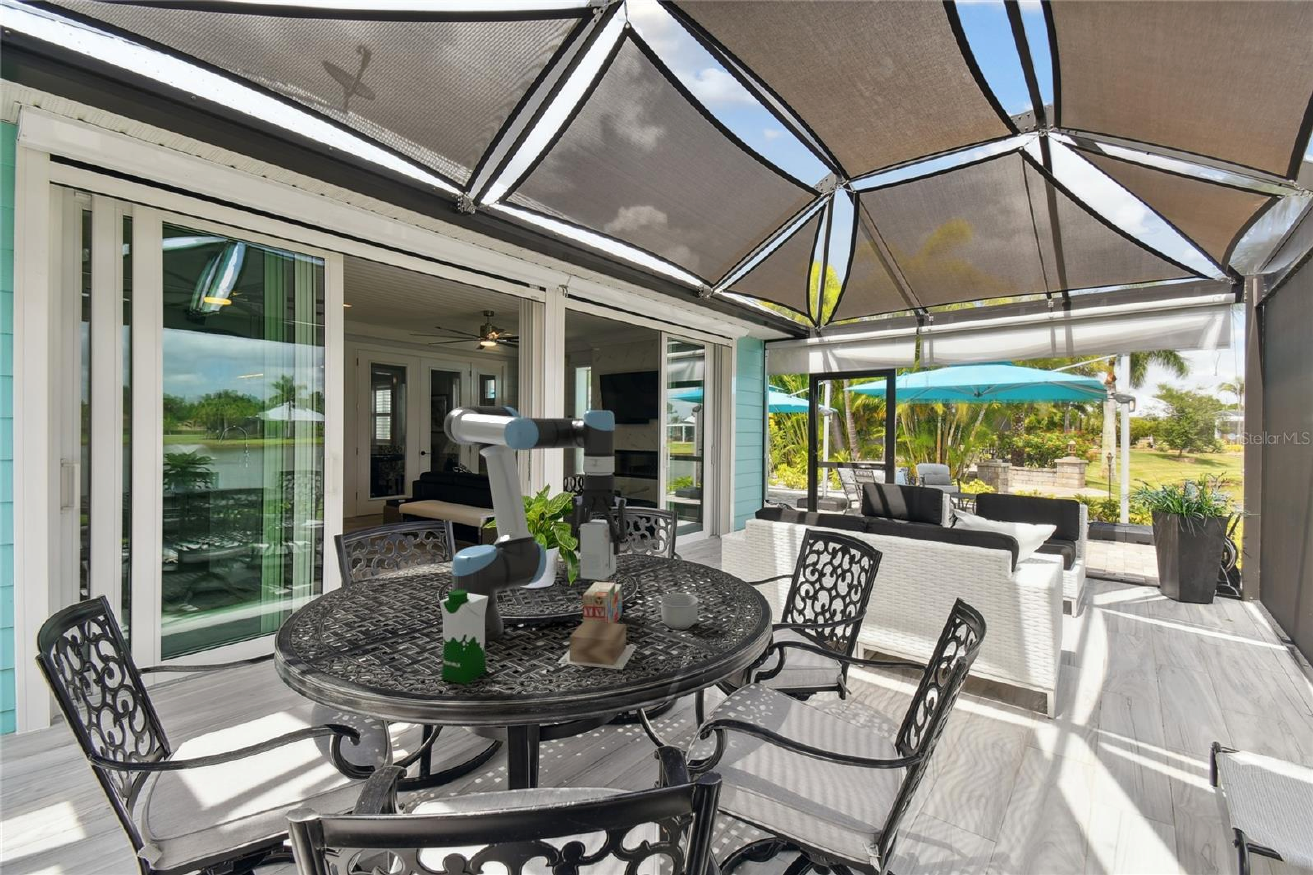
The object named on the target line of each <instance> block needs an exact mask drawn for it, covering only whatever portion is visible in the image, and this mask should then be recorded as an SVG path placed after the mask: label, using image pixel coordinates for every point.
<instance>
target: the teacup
mask: <svg viewBox="0 0 1313 875" xmlns="http://www.w3.org/2000/svg"><path fill="white" fill-rule="evenodd" d="M658 600H659V601H660V606H659V604H658ZM652 604H653V607H654V609H655V610H656V611H657V612H658V613H659V614H660V615H661V620H662V622H663V623H664V625H666V626H667V627H668V628H670V629H672V630H674V631H675V630H677V631H682V630H683V631H684V630H688V629H689V628H691V627H692V626H693V625H694V624H696V622H697V619H698V614H699V613H698V610H699V609H698V607H699V599H698V597H696V595H693V594H690V593H682V592H680V593H679V592H677V593H676V592H675V593H669V594H666V595H664V596H661V595H656V596H655V597H654V598H653V599H652Z"/></svg>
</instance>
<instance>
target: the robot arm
mask: <svg viewBox="0 0 1313 875" xmlns="http://www.w3.org/2000/svg"><path fill="white" fill-rule="evenodd" d="M615 422H616V421H615V414H614V412H613V411H611V410H601V409H600V410H596V409H595V410H585V411H584V413H583V418H576V417H575V418H573V417H564V418H563V417H562V418H561V417H559V418H558V417H553V418H551V417H550V418H546V417H539V418H538V417H522V416H521V414H520V413H519V412H518V411H517V410H516V409H515V408H513V407H509V406H504V405H491V406H490V405H462V406H459V407H457V408H454V409H452V410H451V411H450V412H449V413H448V414H447V415H446V416H445V419H444V422H443V429H444V433H445V434H446V436H447V437H448V438H449V440H450V441H452V442H453V443H456V444H458V445H461V446H463V445H464V446H478V449H479V454H480V455H481V456H483V457H484V458H485V461H486V467H487V473H488V474H487V475H488V480H489V485H490V486H489V488H490V492H491V493H490V494H491V498H492V500H491V501H492V506H493V512H494V518H495V523H496V524H495V525H496V530H497V536H498V537H497V539H496V541H494V543H493V545H492V544H491V545H490V544H482V545H474V546H469V547H466V548H463V549H461V550H459V551H458V552H456V553H455V554H454V556H453V558H452V564H451V565H452V566H451V576H452V577H451V578H452V579H451V584H452V585H451V586H452V588H451V591H453V590H466V591H467V593H471V594H477V595H483V596H489V597H488V602H487V607H486V612H485V643H486V642H490V641H493V640H495V639H497V638H499V637H500V636H502V635H503V634H504V621H503V617H502V615H501V612H500V610H499V606H498V592H502V591H506V590H511V589H515V588H519V587H525V586H527V587H528V586H529V585H531V584H535V583H537V582H539V581H540V580H541V579H542V578H543V576H544V573H546V569H547V563H548V562H547V561H548V560H547V553H546V549H545V548H544V546H543V544H541V543H540V542H537V541H536V538H535V535H534V534H532V533H531V532H530V531H529V529H528V528H529V527H528V522H527V516H526V509H525V505H524V498H523V494H522V492H523V491H522V486H521V481H520V475H519V470H518V469H519V468H518V463H517V458H516V452H517V451H518V450H519V451H528V450H539V449H540V450H541V449H542V450H543V449H583V472H584V475H583V492H582V494H581V496H577V495H576V496H575V497H574V496H573V497H571V499H570V500H571V506H572V511H571V512H572V513H571V522H570V523H571V524H570V533H569V534H570V535H569V536H570V538H575V539H576V541H577V552H578V554H580V518H581V510H582V508H581V507H582V503H584V504H585V505H586V509H585V512H584V516H583V520H582V522H581V524H584V523H588V522H590V521H591V520H592V519H593V515H594V513H595V512H599V513H603V516H604V517H605V520H606V521H607V524H609V530H610V533H611V536H612V539H613V541H612V542H610V569H612V570H613V569H614V568H615V567H616V568H617V556H619V554H620V553H621V541H624V540H626V539H627V538H628V525H627V516H626V513H627V512H626V507H627V502H628V501H627V498H626V497H623V498H622V497H618V496H617V495H616V493H615V475H614V473H615V442H616V441H615V440H616V438H615V435H616V432H615V431H616V426H615V424H616V423H615ZM614 503H615V505H616V507H617V516H618V526H617V522H616V523H615V521H616V519H615V517H614V515H613V509H612V508H613V507H612V506H613V504H614ZM618 528H619V529H618Z"/></svg>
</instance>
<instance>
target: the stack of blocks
mask: <svg viewBox="0 0 1313 875" xmlns="http://www.w3.org/2000/svg"><path fill="white" fill-rule="evenodd" d="M622 592H623V585H622V584H619V583H618V584H617V583H616V582H600V581H595V582H594V583H593V584H592V585H591V586H590V587H589V588H588V589H587V590H586V591H585V592H584V593H583V595H582V623H583V622H584V621H593V622H605V623H616V624H617V623H618V621H619V619H620V618H621V616H622V615H623V593H622Z"/></svg>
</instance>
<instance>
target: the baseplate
mask: <svg viewBox="0 0 1313 875" xmlns="http://www.w3.org/2000/svg"><path fill="white" fill-rule="evenodd" d="M637 647H638V646H637V645H635V644H633V643H631V644H629V645H627V644H626V648H625V650H624V651H623V653H622V654H621V656H620V657H619V659H618V660H617V662H616V663H615V664H614V665H604V664H594V663H584V662H574V661H570V649H568V651H567V652H565V654H564V655H563V656H561V657H560V659H559V660H558V662H557V664H566V665H575V666H587V667H595V668H596V667H597V668H604V669H614V670H615V669H616V670H623V669H624V668H625V667H626V664H627V663H628V661H629V660H630V658H631V656H632V655H633V654H634V652H635V651H636V649H637Z"/></svg>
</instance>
